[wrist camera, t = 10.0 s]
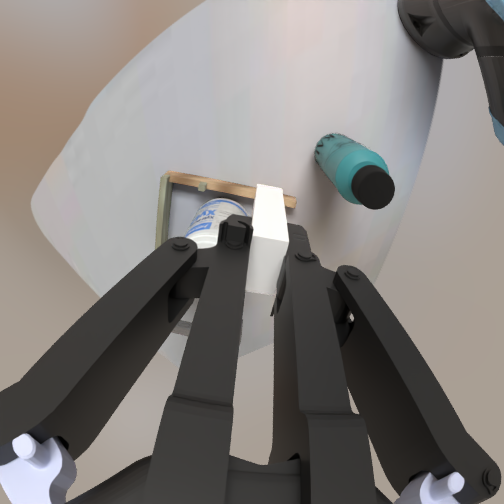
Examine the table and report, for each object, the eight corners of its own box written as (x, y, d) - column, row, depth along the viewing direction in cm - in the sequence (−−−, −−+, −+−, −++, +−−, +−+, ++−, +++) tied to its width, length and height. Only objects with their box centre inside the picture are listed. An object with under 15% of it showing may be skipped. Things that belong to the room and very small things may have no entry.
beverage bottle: (356, 163, 42) (414, 210, 24) (319, 176, 43) (355, 232, 26) (343, 125, 39) (401, 148, 21) (304, 139, 40) (336, 170, 23)
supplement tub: (212, 185, 45) (191, 224, 32) (262, 214, 47) (261, 263, 34) (186, 231, 49) (161, 281, 36) (232, 256, 51) (223, 312, 39)
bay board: (295, 197, 45) (297, 206, 42) (271, 271, 53) (272, 284, 49) (168, 170, 43) (160, 177, 40) (161, 248, 51) (154, 259, 47)
